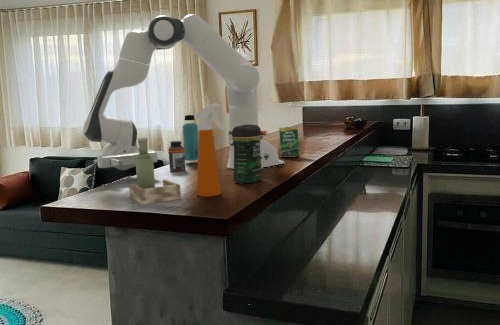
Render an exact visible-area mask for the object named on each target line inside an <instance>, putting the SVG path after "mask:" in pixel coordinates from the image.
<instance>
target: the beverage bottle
mask: <svg viewBox="0 0 500 325" xmlns="http://www.w3.org/2000/svg"><path fill="white" fill-rule="evenodd" d="M184 121H195V115H194V114H186V115H184ZM198 127H199V124H197V123H195V122H186V123H184V124H183V125H182V136H183V145H182V146H183V147H184V153H185V161H190V162H191V161H198V148H199V128H198Z"/></svg>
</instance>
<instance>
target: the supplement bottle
mask: <svg viewBox="0 0 500 325" xmlns="http://www.w3.org/2000/svg"><path fill="white" fill-rule="evenodd" d="M183 146H184V145H182V140H172V141H170V147H169V148H168V161H169V162H168V163H169V171H170V172H173V173H175V172H176V173H178V172H184V171H185V170H186V160H185V153H184V147H183Z"/></svg>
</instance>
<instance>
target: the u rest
mask: <svg viewBox="0 0 500 325" xmlns="http://www.w3.org/2000/svg"><path fill="white" fill-rule="evenodd" d="M128 188H129V198H130V199H131V200H133V201H135V202H136V203H138V204H140V205H141V206H144V205H148V204H155V203H163V202H169V201H176V200H181V199H182V193H181V191H182V190H181V184H179V183H177V182H174V181H172V180H169V179H166V178H165V179H162V186H157V187H156V186H155V188H148V189H142V188H140V187H139V186H137V184H134V183H128Z"/></svg>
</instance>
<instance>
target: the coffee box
mask: <svg viewBox="0 0 500 325" xmlns="http://www.w3.org/2000/svg"><path fill="white" fill-rule="evenodd" d="M278 129H279V130H278V131H279V149H280V157H281V156H299V157H300V148H299V147H300V145H299V128H298V126H284V127H283V126H281V127H279V128H278Z"/></svg>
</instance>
